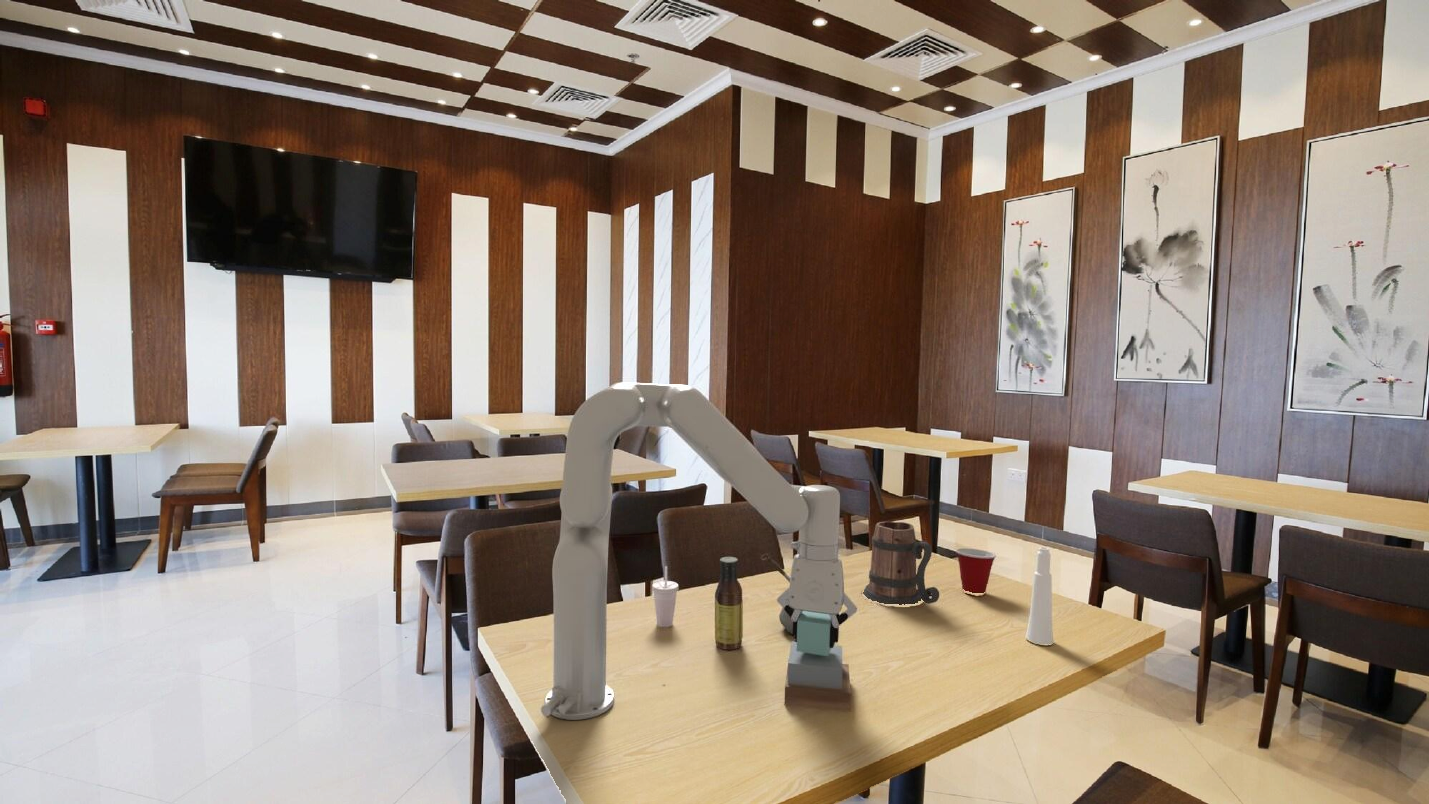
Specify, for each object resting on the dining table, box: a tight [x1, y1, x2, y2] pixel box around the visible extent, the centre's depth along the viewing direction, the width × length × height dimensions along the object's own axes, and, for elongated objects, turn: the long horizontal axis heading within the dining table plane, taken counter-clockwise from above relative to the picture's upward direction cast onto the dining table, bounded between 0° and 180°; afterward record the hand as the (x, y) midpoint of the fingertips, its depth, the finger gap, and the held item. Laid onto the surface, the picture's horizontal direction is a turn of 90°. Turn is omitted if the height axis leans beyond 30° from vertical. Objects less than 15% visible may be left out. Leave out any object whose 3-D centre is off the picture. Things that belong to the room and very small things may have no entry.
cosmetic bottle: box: [1025, 546, 1055, 645], centre depth 155 cm, size 6×6×22 cm
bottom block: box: [784, 658, 852, 712], centre depth 129 cm, size 12×12×4 cm
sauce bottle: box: [714, 556, 744, 651], centre depth 149 cm, size 7×6×20 cm
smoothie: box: [651, 565, 680, 628], centre depth 161 cm, size 6×6×14 cm
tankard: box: [863, 521, 940, 605], centre depth 180 cm, size 24×17×20 cm
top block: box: [787, 641, 843, 689], centre depth 129 cm, size 10×10×4 cm
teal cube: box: [797, 611, 832, 656], centre depth 129 cm, size 6×6×6 cm
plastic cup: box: [955, 547, 997, 593], centre depth 188 cm, size 11×11×12 cm
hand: (815, 641), depth 129 cm, fingers closed on teal cube, 5 cm apart
